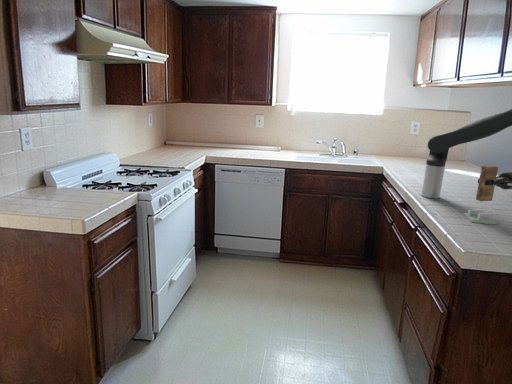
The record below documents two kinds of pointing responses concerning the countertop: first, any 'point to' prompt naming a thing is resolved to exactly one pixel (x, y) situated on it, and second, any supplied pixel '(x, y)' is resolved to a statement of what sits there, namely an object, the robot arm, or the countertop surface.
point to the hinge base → (474, 219)
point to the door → (486, 190)
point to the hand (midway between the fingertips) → (482, 181)
